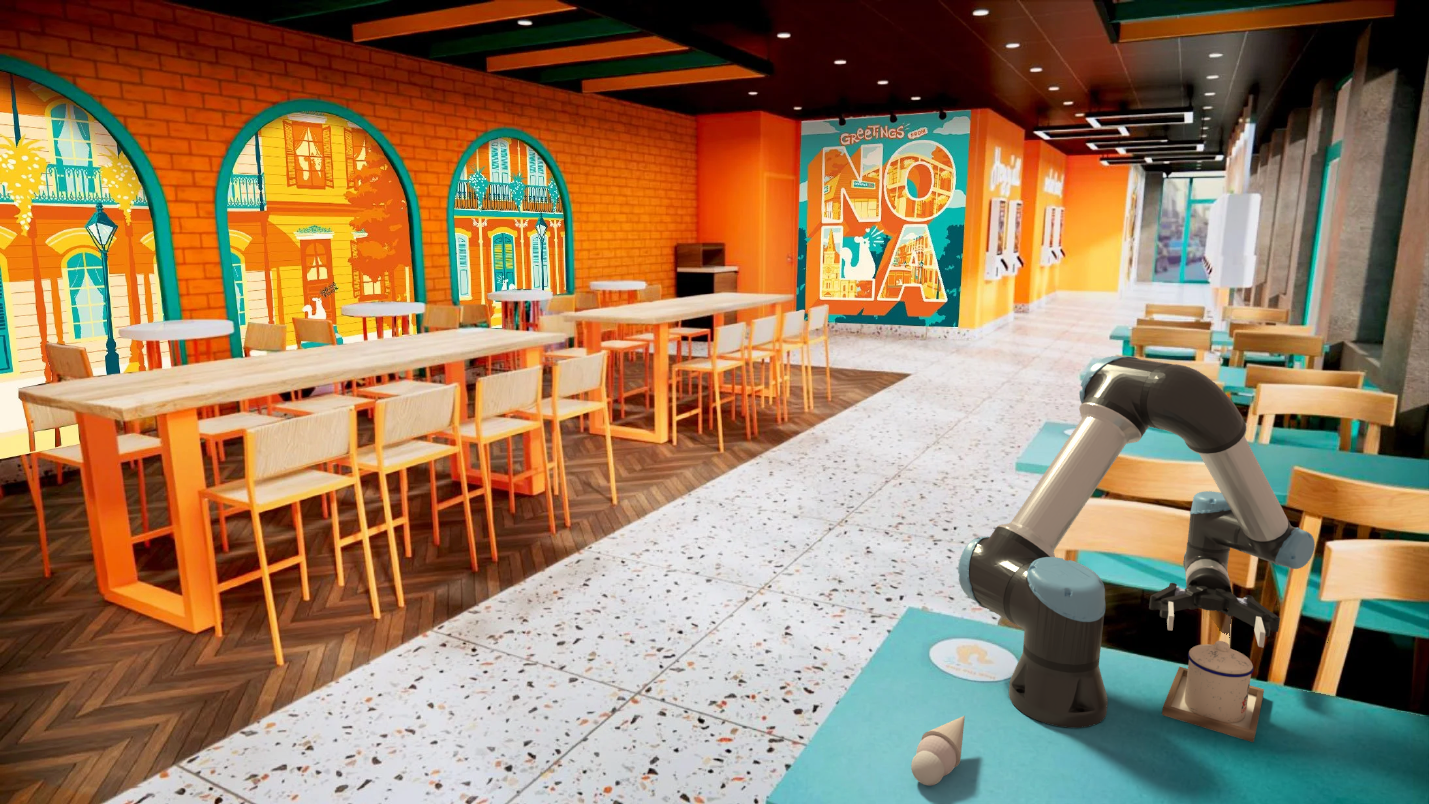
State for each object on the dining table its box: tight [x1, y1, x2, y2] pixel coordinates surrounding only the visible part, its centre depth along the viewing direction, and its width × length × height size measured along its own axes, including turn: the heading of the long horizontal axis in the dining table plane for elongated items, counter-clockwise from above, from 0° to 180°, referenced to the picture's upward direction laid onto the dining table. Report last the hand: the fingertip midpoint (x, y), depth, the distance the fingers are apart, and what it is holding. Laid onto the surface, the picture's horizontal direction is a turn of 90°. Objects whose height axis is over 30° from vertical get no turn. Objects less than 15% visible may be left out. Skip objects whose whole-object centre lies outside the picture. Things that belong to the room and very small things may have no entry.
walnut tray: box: [1161, 666, 1265, 743], centre depth 138 cm, size 13×16×2 cm
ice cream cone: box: [910, 715, 966, 786], centre depth 123 cm, size 6×6×15 cm
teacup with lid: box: [1185, 640, 1254, 723], centre depth 137 cm, size 12×9×12 cm
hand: (1215, 631), depth 145 cm, fingers open, 13 cm apart
